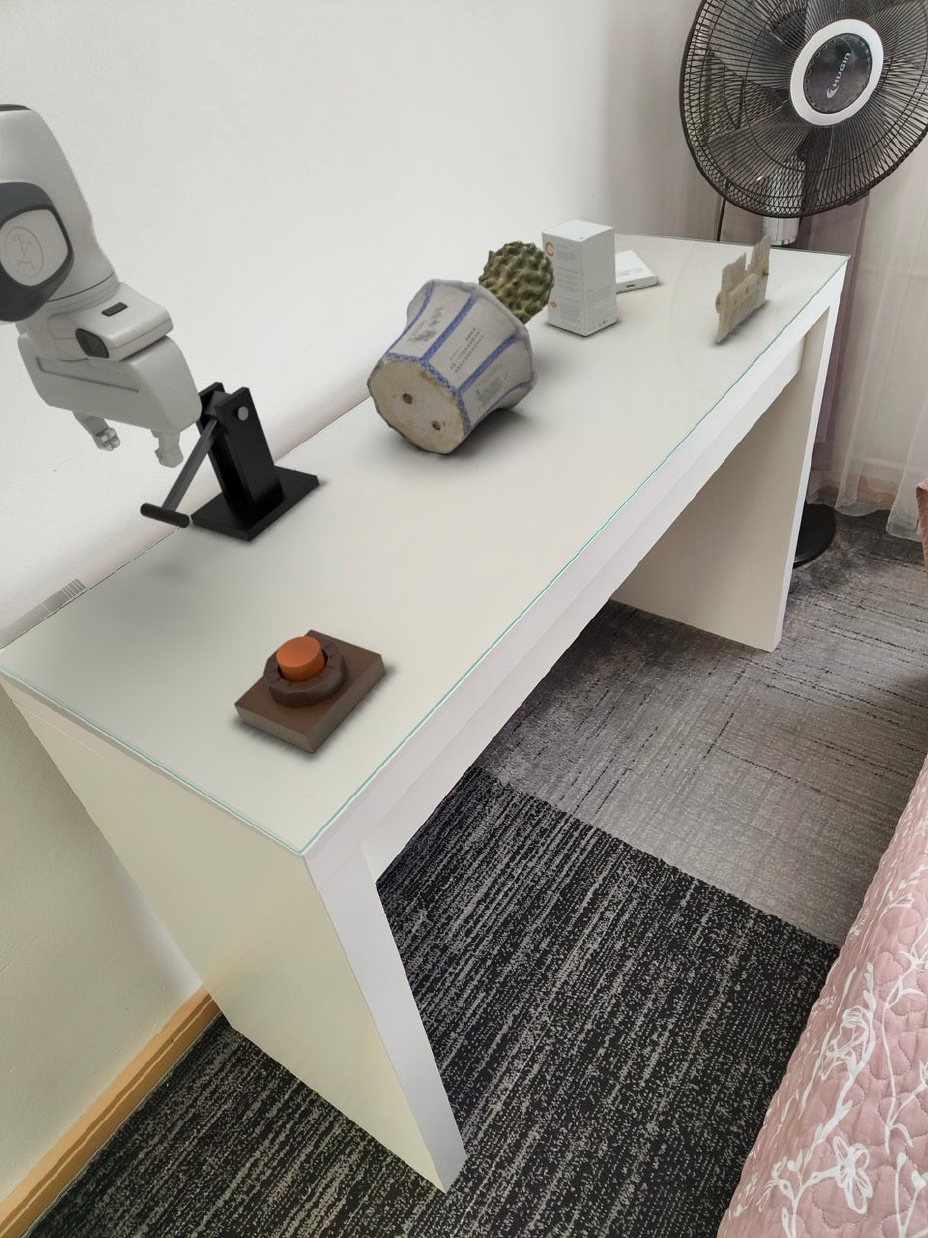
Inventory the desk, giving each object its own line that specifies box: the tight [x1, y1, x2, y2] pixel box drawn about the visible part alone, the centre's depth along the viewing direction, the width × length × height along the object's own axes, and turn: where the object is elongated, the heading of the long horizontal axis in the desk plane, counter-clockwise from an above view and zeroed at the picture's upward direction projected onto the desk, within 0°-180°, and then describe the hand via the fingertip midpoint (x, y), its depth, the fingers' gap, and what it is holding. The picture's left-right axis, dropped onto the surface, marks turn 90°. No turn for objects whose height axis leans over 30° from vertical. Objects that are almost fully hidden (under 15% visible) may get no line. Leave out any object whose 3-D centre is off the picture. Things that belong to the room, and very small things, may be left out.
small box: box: [541, 218, 618, 337], centre depth 118 cm, size 8×6×13 cm
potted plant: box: [366, 240, 555, 455], centre depth 102 cm, size 18×18×30 cm
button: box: [276, 635, 325, 682], centre depth 69 cm, size 4×4×2 cm
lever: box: [139, 391, 231, 529], centre depth 88 cm, size 15×6×2 cm, turn 148°
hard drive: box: [615, 249, 658, 294], centre depth 133 cm, size 2×8×12 cm
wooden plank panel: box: [714, 233, 772, 343], centre depth 112 cm, size 15×2×10 cm, turn 144°
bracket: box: [189, 381, 320, 542], centre depth 93 cm, size 12×9×14 cm
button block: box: [233, 629, 387, 754], centre depth 71 cm, size 10×8×4 cm
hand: (140, 455), depth 82 cm, fingers open, 8 cm apart
